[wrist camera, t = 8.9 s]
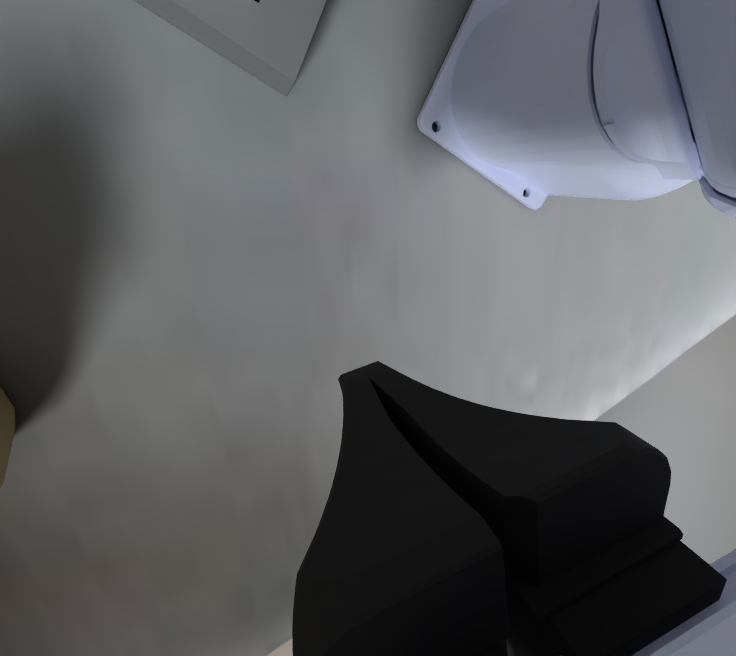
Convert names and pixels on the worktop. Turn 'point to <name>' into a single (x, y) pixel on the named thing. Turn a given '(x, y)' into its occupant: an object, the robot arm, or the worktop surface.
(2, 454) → the squeeze bottle
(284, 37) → the button panel
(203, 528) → the worktop surface
